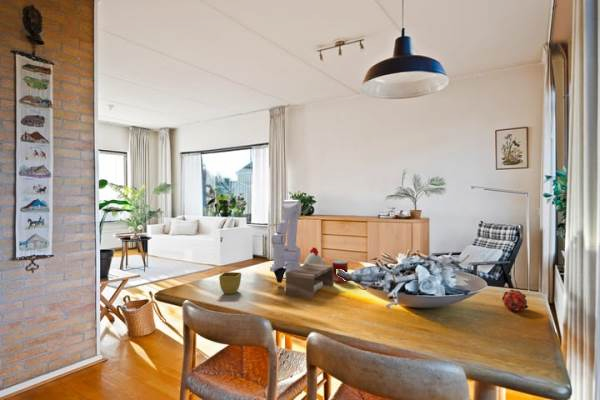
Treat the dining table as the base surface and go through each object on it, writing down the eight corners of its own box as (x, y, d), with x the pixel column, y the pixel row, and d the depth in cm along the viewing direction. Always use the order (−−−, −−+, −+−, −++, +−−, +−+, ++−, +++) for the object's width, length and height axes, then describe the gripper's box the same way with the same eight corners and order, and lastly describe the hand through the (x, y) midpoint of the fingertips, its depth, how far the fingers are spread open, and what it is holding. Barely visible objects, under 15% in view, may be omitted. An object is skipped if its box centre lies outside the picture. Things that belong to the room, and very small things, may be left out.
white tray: (300, 283, 179) (300, 272, 179) (322, 287, 173) (322, 275, 173) (284, 291, 165) (284, 279, 165) (307, 295, 159) (307, 282, 159)
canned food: (348, 283, 179) (348, 262, 178) (333, 283, 179) (333, 262, 179) (346, 279, 186) (346, 259, 186) (332, 279, 187) (332, 259, 186)
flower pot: (242, 290, 169) (241, 272, 169) (237, 295, 160) (236, 276, 160) (224, 289, 170) (224, 272, 170) (219, 295, 161) (218, 276, 161)
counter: (309, 282, 182) (309, 263, 181) (333, 285, 175) (333, 265, 175) (286, 294, 161) (285, 272, 160) (312, 299, 154) (312, 275, 154)
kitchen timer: (310, 276, 195) (309, 250, 195) (298, 271, 207) (298, 247, 207) (330, 273, 202) (330, 248, 202) (318, 268, 214) (317, 245, 214)
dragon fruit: (516, 309, 142) (516, 322, 132) (497, 295, 145) (496, 307, 135) (531, 295, 138) (532, 308, 128) (511, 281, 141) (511, 293, 131)
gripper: (280, 253, 184) (280, 278, 185) (264, 258, 172) (265, 284, 172) (291, 254, 181) (291, 279, 181) (276, 259, 168) (277, 286, 169)
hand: (279, 282), depth 177 cm, fingers closed
